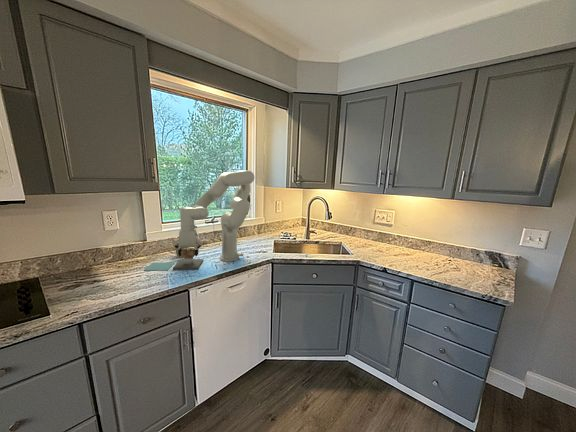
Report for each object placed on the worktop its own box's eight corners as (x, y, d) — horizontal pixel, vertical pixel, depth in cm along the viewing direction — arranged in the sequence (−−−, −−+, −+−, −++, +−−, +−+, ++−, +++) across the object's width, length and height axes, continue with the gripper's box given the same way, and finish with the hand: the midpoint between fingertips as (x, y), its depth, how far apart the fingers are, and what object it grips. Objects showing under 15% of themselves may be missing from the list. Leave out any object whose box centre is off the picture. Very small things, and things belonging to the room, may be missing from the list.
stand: (203, 261, 155) (202, 245, 153) (198, 269, 141) (197, 252, 139) (180, 261, 153) (179, 245, 151) (172, 270, 139) (172, 252, 138)
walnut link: (195, 254, 150) (195, 248, 149) (192, 258, 143) (192, 251, 143) (184, 254, 149) (184, 248, 148) (181, 258, 142) (180, 251, 142)
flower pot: (170, 257, 160) (170, 244, 158) (181, 253, 168) (180, 241, 167) (182, 259, 157) (181, 246, 155) (192, 255, 165) (191, 242, 164)
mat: (174, 262, 150) (174, 262, 150) (167, 270, 139) (167, 269, 138) (152, 263, 148) (152, 262, 148) (143, 270, 137) (143, 270, 137)
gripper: (204, 226, 148) (204, 253, 151) (174, 226, 146) (175, 253, 149) (201, 229, 141) (202, 257, 144) (169, 229, 138) (171, 257, 141)
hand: (188, 255), depth 146 cm, fingers open, 8 cm apart
